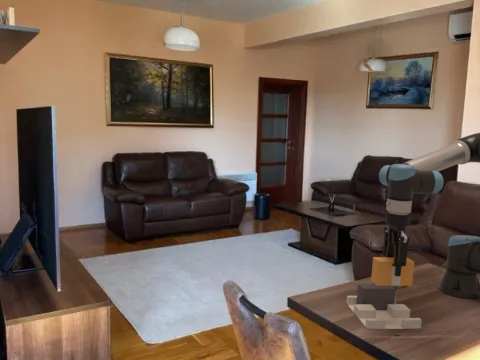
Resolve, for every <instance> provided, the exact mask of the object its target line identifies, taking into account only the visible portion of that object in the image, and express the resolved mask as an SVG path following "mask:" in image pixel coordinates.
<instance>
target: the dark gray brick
mask: <svg viewBox="0 0 480 360" xmlns="http://www.w3.org/2000/svg"><path fill="white" fill-rule="evenodd" d="M396 291H397V288H395V287H393V286H383V285H376V284H374V283H358V284H357V295H356V296H357V304H371V305H372V306H373V307H374V308H375V309H376V310H387V304H395V297H396Z"/></svg>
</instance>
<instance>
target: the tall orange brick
mask: <svg viewBox="0 0 480 360" xmlns="http://www.w3.org/2000/svg"><path fill="white" fill-rule="evenodd" d="M392 264H394V257H385V256H383V257H382V256H381V257H380V256H379V257H378V256H373V257H372V267H371V279H370V280H371V282H372V284H376V285H383V286H403V287H404V286H408V287H410V286H411V287H412V286H413V282H414V281H413V279H414V269H415V261H414V260H412V259H411V258H409V257H407V260H406V266H402V268H401V278H400V285H391V277H392Z"/></svg>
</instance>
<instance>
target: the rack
mask: <svg viewBox="0 0 480 360" xmlns="http://www.w3.org/2000/svg"><path fill="white" fill-rule="evenodd" d="M346 305H347V306H348V307H349V308H350V309H351V311H352V312H353V313H354V315H355V316H356V317H357V318H358V319H359V321H360V322H361V323H362V325H363V326H364V327H365V328H366V329H367V330H390V329H391V330H402V329H403V330H406V329H413V330H414V329H416V330H417V329H422V322H423V321H422V319H421V318H420V317H411V309H410V308H409V307H408V306H407V305H406V304H405V303H397V296H395V304H387V310H376V309H375V308H374V307H373V306H372V305H371V304H357V295H347V296H346Z"/></svg>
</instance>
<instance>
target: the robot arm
mask: <svg viewBox="0 0 480 360" xmlns="http://www.w3.org/2000/svg"><path fill="white" fill-rule="evenodd" d="M469 163H477V164H478V163H479V164H480V132H477V133H473V134H469V135H466V136H463V137H461V138H458V139H455V140H453V141H451V142H450V143H449V145H447V146H444V147H441V148H439V149H437V150H434V151H431V152H428V153H427V154H424V155H420V156H417V157H415V158H414V159H409V160H408V161H406V162H405V161H404V162H402V163H396V164H392V165H390V164H386V165H384V166H383V167H382V168H380V170H379V173H378V178H379V182H380V183H381V184H382V185H383V186H386V187H387V197H386V202H385V205H386V208H385V209H386V212H385V216H384V217H385V219H384V222H385V224H386V225H388V226H384V228H383V233H384V234H383V235H384V237H383V247H382V256H383V257H394V264H392V277H391V285H400V278H401V268H402V266H406V260H407V258H408V250H409V249H408V248H409V243H410V240H411V239H410V238H411V237H410V236H408V235H406V228H407V227H409V226H410V223H411V214H410V213H412V204H413V195H416V194H418V195H420V194H423V195H424V194H429V195H431V194H436V193H439V192H440V191H441V190H442V189H443V187H444V177H443V175H442V173H440V172H441V171H442V170H445V169H448V168H450V167H453V166H456V165H465V164H469ZM446 255H447V256H446V265H445V271H444V272H443V273H444V274H443V275H442V278H441V280H440V281H439V286H438V287H439V290H440V291H441V292H443V293H444V294H447V295H449V296H452V297H456V298H461V299H469V300H470V299H478V298H480V280H479V276H478V275H479V274H480V236H477V235H468V234H461V235H459V234H458V235H453V236H450V237H449V240H448V244H447V254H446Z"/></svg>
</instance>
